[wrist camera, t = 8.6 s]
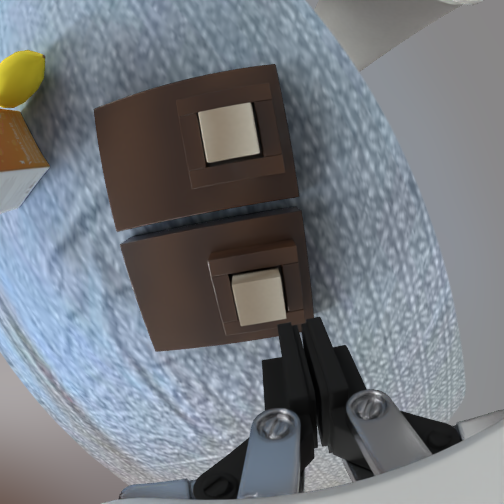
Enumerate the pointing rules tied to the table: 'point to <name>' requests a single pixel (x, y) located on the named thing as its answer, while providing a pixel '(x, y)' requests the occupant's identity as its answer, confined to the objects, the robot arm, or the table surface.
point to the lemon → (20, 77)
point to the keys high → (216, 277)
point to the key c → (229, 132)
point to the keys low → (192, 149)
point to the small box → (17, 161)
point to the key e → (259, 296)
